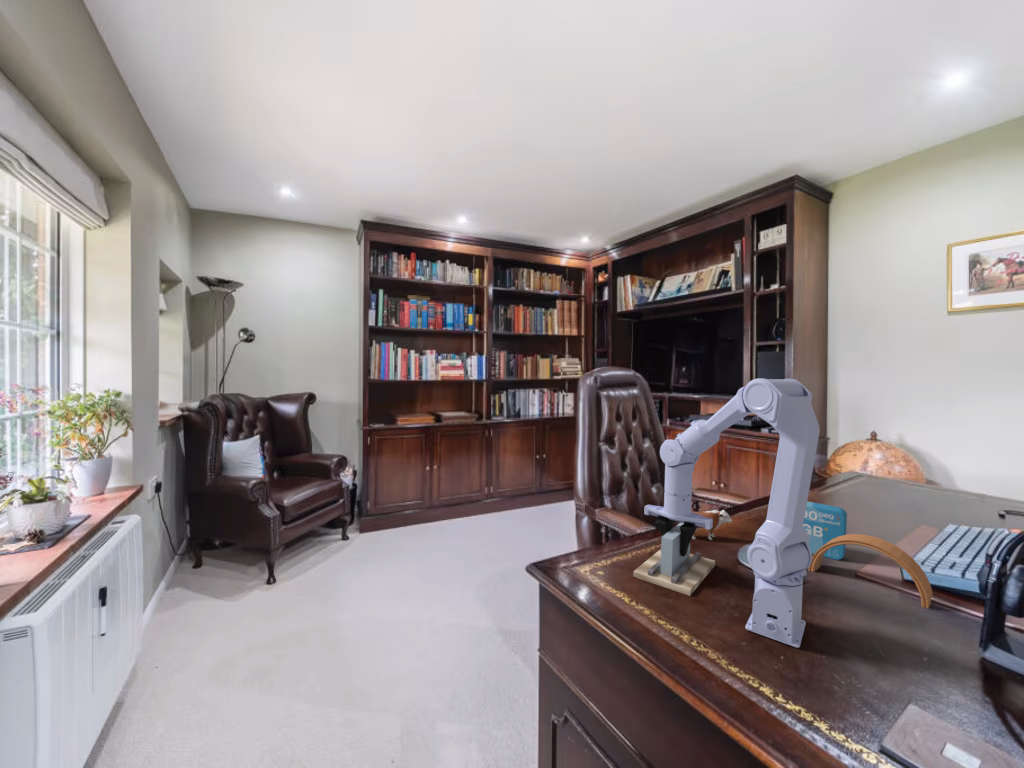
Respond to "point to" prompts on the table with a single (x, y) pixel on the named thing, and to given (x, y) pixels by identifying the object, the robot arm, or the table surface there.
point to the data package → (825, 527)
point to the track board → (682, 579)
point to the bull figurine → (714, 520)
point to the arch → (888, 550)
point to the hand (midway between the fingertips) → (675, 552)
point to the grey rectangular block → (672, 552)
